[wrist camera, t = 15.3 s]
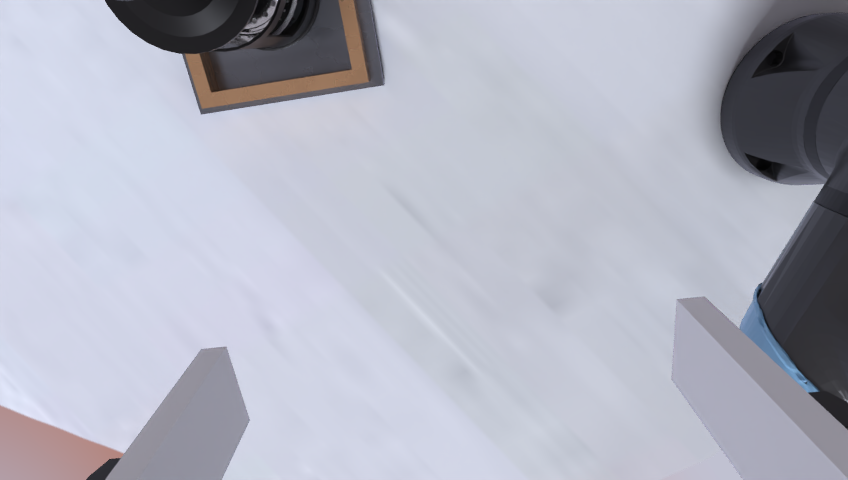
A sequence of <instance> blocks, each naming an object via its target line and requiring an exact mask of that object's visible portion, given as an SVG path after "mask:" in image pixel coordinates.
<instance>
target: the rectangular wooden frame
mask: <svg viewBox="0 0 848 480" xmlns="http://www.w3.org/2000/svg"><path fill="white" fill-rule="evenodd" d="M303 1H304V0H297V5H296V8H295V11H294V14H293V17H292V18H291V20H290V22H289V24H288V25H287V27H286V28H285V29H284V30H283V31H285V30H286V29H288V28H289V27H291V26H292V24H293V23H294V22H295V21H296V20H297V18H298V16H299V15H300V12H301V9H302V6H303ZM283 31H282V32H283ZM237 46H239V45H235V44H231V43H228V44H227V45H225V46H223V47H221V48H232V47H237ZM182 55H183V58H184V61H185V65H186V68H187V71H188V74H189V77H190V81H191V84H192V87H193V90H194V93H195V97H196V100H197V103H198V106H199V109H200V113H201V114H207V113H213V112H219V111H225V110H232V109H238V108H244V107H250V106H257V105H263V104H269V103H275V102H282V101H288V100H294V99H300V98H306V97H313V96H319V95H325V94H331V93H338V92H344V91H350V90H356V89H363V88H369V87H375V86H381V85H384V84H385V83H384V77H383V71H382V66H381V60H380V54H379V49H378V43H377V37H376V31H375V26H374V20H373V14H372V8H371V3H370V0H320V6H319V12H318V15H317V18H316V20H315V23H314V24H313V26H312V28H311V29H310V31H309V32H308V33H307V34H306V36H305V37H304V38H303V39H302V40H300V41H299V42H297V43H296V44H295V45H293V46H290V47H288V48H285V49H281V50H276V51H263V50H258V49H253V48H252V49H242V50H236V51H229V52H218V51H210V52H205V53H199V54H182Z"/></svg>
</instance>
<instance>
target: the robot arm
mask: <svg viewBox="0 0 848 480" xmlns="http://www.w3.org/2000/svg"><path fill="white" fill-rule="evenodd" d="M721 129H722V135H723V139H724V142H725V145H726V147H727V149H728V151H729V153H730V154H731V156H732V157H733V158H734V160H735V161H736V162H737V163H738V164H739V165H740V166H741V167H743V168H744V169H745V170H747V171H749V172H750V173H752V174H755V175H757V176H759V177H762V178H764V179H767V180H770V181H772V182H776V183H781V184H787V185H813V184H824V186H823V188H822V189H821V191H820V193H819V194H818V196H817V197H816V199H815V200H814V201H813V203H812V205H811V206H810V208H809V210H808V211H807V213H806V214H805V216H804V218H803V219H802V221H801V222H800V224H799V226H798V227H797V229H796V230H795V232H794V234H793V235H792V237H791V238H790V240H789V242H788V243H787V245H786V246H785V248H784V250H783V251H782V253H781V254H780V256H779V258H778V259H777V261H776V262H775V264H774V266H773V267H772V269H771V270H770V272H769V274H768V275H767V277H766V278H765V280H764V282H763V283H761V284H759V285H758V287H757V288H756V289H755V292H754V297H753V301H752V303H751V305H750V307H749V309H748V310H747V312H746V314H745V316H744V318H743V319H742V322H741V324H740V329H739V328H738V327H737V326H736V325H735V324H733V323H732V322H731V321H730V320H729V319H728V318H727V317H726V316H725V315H724V314H723V313H722V312H721V311H719V310H718V309H717V308H716V307H715V306H714V305H713V304H712V303H711V302H710V301H709V300H708V299H707V298H706V297H695V298H685V299H677V303H676V318H675V334H674V349H673V364H672V381H673V382H674V384H675V385H676V386H677V388H678V389H679V391H680V392H681V393H682V395H683V396H684V398H685V399H686V400H687V402H688V403H689V405H690V406H691V408H692V409H693V410H694V412H695V413H696V415H697V416H698V417H699V419H700V420H701V422H702V423H703V424H704V426H705V427H706V429H707V430H708V431H709V433H710V434H711V436H712V437H713V438H714V440H715V441H716V443H717V444H718V445H719V447H720V448H721V450H722V451H723V452H724V454H725V455H726V457H727V458H728V459H729V461H730V462H731V464H732V465H733V466H734V468H735V469H736V471H737V472H738V473H739V475H740V476H741V478H742V479H743V480H848V13H826V14H814V15H809V16H805V17H801V18H798V19H795V20H793V21H791V22H788V23H786V24H784V25H782V26H780V27H779V28H777V29H775V30H774V31H772V32H771V33H769V34H768V35H767V36H765V37H764V38H763V39H762V40H761V41H759V42H758V43H757V44H756V45H755V46H754V47H753V48H752V49H751V50H750V51H749V52H748V53H747V55H746V56H745V57H744V58H743V60H742V61H741V63H740V64H739V65H738V67H737V69H736V70H735V72H734V74H733V75H732V77H731V79H730V82H729V84H728V86H727V89H726V92H725V95H724V99H723V103H722V109H721ZM249 421H250V419H249V416H248V413H247V410H246V407H245V404H244V400H243V397H242V394H241V391H240V388H239V385H238V382H237V379H236V375H235V372H234V369H233V366H232V363H231V360H230V357H229V353H228V350H227V347H218V348H208V349H201V350H200V352H199V353H198V354H197V356H196V357H195V359H194V360H193V361H192V363H191V364H190V365H189V367H188V368H187V369H186V371H185V372H184V373H183V375H182V376H181V378H180V379H179V380H178V382H177V383H176V384H175V386H174V387H173V388H172V390H171V391H170V392H169V394H168V395H167V396H166V398H165V399H164V401H163V402H162V403H161V405H160V406H159V407H158V409H157V410H156V411H155V413H154V414H153V415H152V417H151V418H150V420H149V421H148V422H147V424H146V425H145V426H144V428H143V429H142V430H141V432H140V433H139V434H138V436H137V437H136V438H135V440H134V441H133V443H132V444H131V445H130V447H129V448H128V449H127V451H126V452H125V453H124V455H123V456H122V457H121V458H116V459H109V460H108V461H107V462H106V463H105V464H103V465H102V466H101V467H100V468H99V469H97V470H96V471H95V472H94V473H93V474H91V475H90V476H89V477H88V478H87V479H86V480H222V478H223V475H224V473H225V471H226V469H227V467H228V465H229V463H230V461H231V459H232V456H233V454H234V452H235V450H236V448H237V446H238V444H239V442H240V440H241V437H242V435H243V433H244V431H245V429H246V427H247V425H248V423H249Z"/></svg>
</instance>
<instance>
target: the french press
mask: <svg viewBox="0 0 848 480" xmlns="http://www.w3.org/2000/svg"><path fill="white" fill-rule="evenodd" d="M105 1H106V3H107V5H108V6H109V8H110V9H111V10H112V12H113V13H114V14H115V15H116V17H117V18H118V19H119V20H120V21H121V22H122V23H123V24H124V25H125V26H126V27H127V28H128V29H129V30H130V31H131V32H132V33H134V34H135V35H137V36H138V37H140V38H141V39H143V40H144V41H146V42H147V43H149V44H151V45H154V46H156V47H158V48H160V49H163V50H166V51H171V52H175V53H179V54H199V53H205V52H210V51H218V52H229V51H236V50H242V49H252V48H253V49H258V50H263V51H276V50H281V49H285V48H288V47H290V46H293V45H295V44H296V43H297V42H299V41H300V40H302V39H303V38H304V37H305V36H306V34H307V33H308V32H309V31H310V29H311V28H312V26H313V24H314V23H315V20H316V18H317V15H318V12H319V6H320V0H304V1H303V6H302V9H301V12H300V15H299V16H298V18H297V20H296V21H295V22H294V23H293V24H292V26H291V27H289V28H288V29H286V30H285V31H283V30H284V29H285V28H286V27H287V25H288V24H289V22H290V20H291V18H292V17H293V14H294V11H295V8H296V5H297V0H105ZM282 31H283V32H282ZM228 43H231V44H235V45H239V46H237V47H232V48H221V47H223V46H225V45H227V44H228Z"/></svg>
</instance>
